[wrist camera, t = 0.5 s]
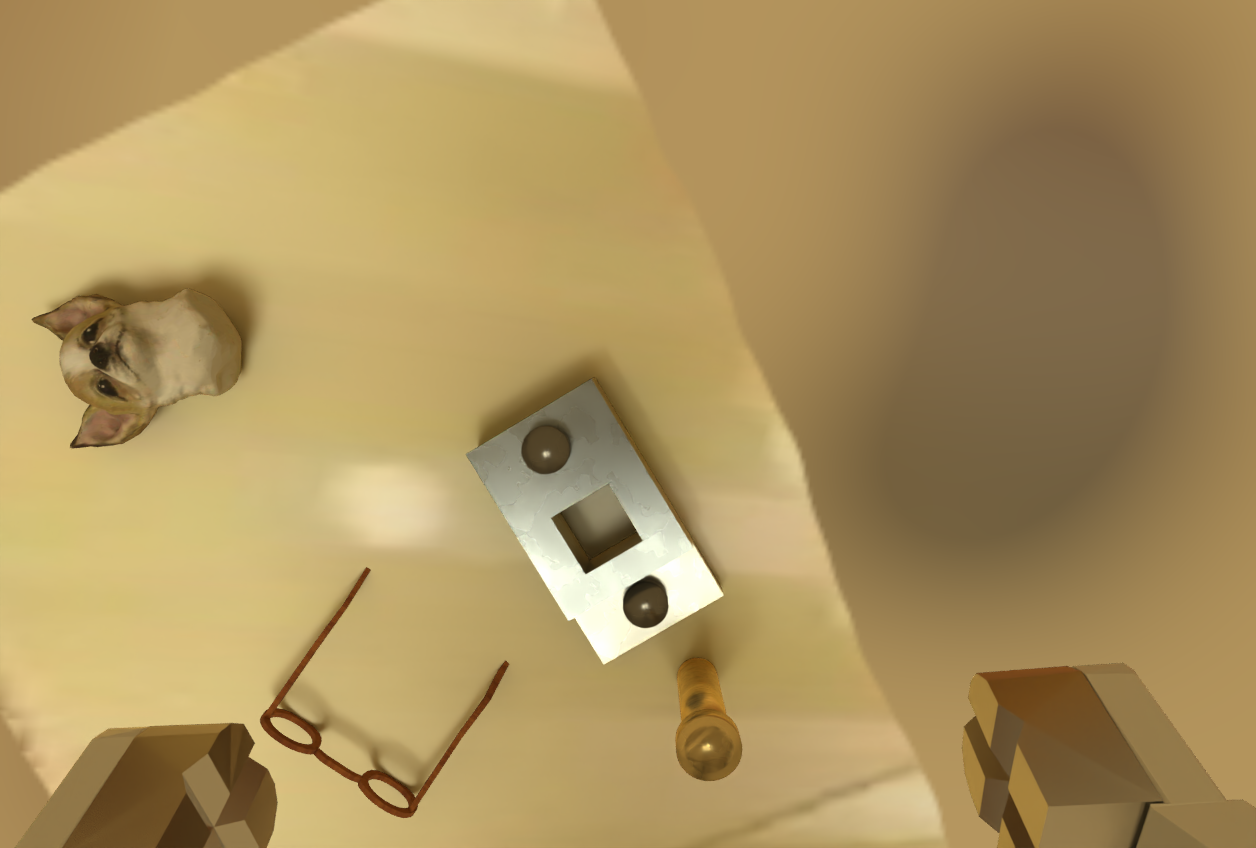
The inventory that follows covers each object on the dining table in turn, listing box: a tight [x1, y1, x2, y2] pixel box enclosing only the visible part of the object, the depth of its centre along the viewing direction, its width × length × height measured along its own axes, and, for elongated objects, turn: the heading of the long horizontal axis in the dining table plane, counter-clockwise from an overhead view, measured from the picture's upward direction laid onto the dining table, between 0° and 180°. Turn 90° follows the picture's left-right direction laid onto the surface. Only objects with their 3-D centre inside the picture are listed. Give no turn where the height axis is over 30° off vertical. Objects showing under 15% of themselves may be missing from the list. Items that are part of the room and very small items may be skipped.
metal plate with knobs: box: [466, 377, 724, 664], centre depth 56 cm, size 18×10×5 cm, turn 31°
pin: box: [675, 658, 742, 781], centre depth 54 cm, size 4×4×11 cm
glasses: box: [260, 567, 509, 818], centre depth 58 cm, size 13×13×5 cm
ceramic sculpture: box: [32, 289, 242, 448], centre depth 55 cm, size 11×9×15 cm
